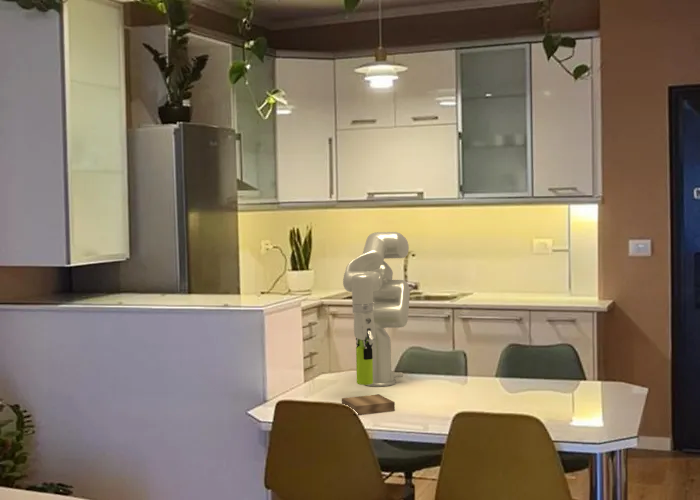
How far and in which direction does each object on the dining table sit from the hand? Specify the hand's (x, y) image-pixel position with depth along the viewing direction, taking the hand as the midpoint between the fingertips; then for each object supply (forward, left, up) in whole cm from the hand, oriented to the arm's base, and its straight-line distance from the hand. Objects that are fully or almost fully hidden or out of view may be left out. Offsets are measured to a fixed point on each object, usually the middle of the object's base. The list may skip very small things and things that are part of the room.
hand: (364, 357), depth 324 cm
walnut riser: (+5, +16, -15) cm, 22 cm away
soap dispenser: (0, 0, -10) cm, 10 cm away
